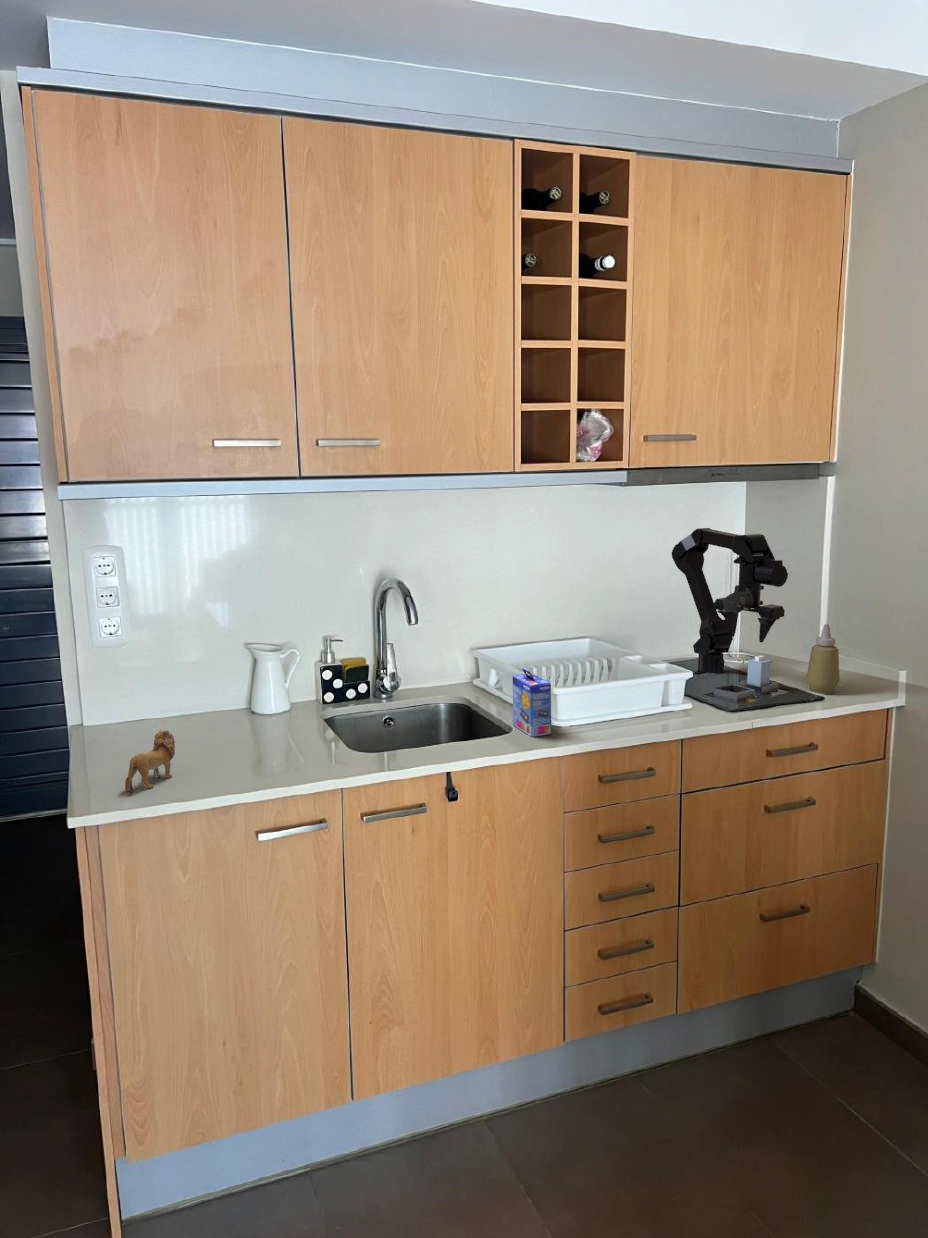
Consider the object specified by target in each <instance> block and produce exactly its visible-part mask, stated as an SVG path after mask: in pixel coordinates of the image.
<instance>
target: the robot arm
mask: <svg viewBox="0 0 928 1238" xmlns="http://www.w3.org/2000/svg"><path fill="white" fill-rule="evenodd" d="M710 545H711V546H715V547H720V548H725V549H729V550H730V551H732V552H733V554H735V555H738V557H736V558H735V559H734V560H733V563H734V564H738V565H739V567H738V569H739V572H738V584H736V585H735V587H734V591H733V592H731V593H730V594H729V595H726V596H725V597H720V598H716V599H715V600H714V599H713V597H712V593H711V591H710V588H709V587H710V586H709V585H708V582H707V580H706V576H705V572H704V571H703V568H704V563H705V556H704V554H705V553H706V552H707V551H708V549H709V546H710ZM671 558H672V561H673V562H674V565H675V566H676V567H677V569H678V570H679V571H680V572H682V574H683V575H684V576H685V579H686V580H687V584H688V586H689V590H690V593H691V596H692V598H693V601H694V604H695V608H696V610H697V613H698V616H699V619H700V626H699V630H698V633H699V638H698V640H697V641H695V642H694V644H693V645H692V648H693V652H694V653H695V654H698V664H697V670H694V672H693V673H694V674H697V675H703V674H716V675H719V674H724V672H725V659H724V653H726V654H727V653H728V652H729V650H730V647H731V645H732V642H733V641H734V637H735V634H736V631H737V625H738V619H739V613H741V612H742V611H744V612H745V611H746V612H751V613H757V614H758V615H759V617H758V618H757V620H758V622H759V633H758V634H759V635H758V636H759V638H758V639H759V643H763V642H764V641H765V640H766V638H767V635H768V634H769V632H770V630H771V629H772V627H773V626H774V624H775V622H776V621H778V620H781V618H783V617H785V608H784V607H783V606H782V605H779V604H778V605H777V604H772V603H771V604H765V605H764V600H761V593H762V592H761V591H763V590H764V589H765V586H772V587H775V588H781V587H782V586H784V585H785V584H786V582H787V579H788V577H789V572H788V569H787V567H786V566H785V565H783V560H782V559H776V558H775V556H774V554H773V551H772V550H771V547H770V546H769V543H768V541H767V539H766V536H765V535H764V534H761V533H755V534H736V533H731V532H728V531H722V530H716V529H712V528H709V527H703V528H701V527H699V528H696V529H694V530H693V531H692V532H691V533H690V534H689V535H687V536H686V537H684V538H683V539H681V540H680V541H679V542H678V543H676V544H675V545H674V546H673V549H672V551H671ZM764 585H765V586H764ZM719 614H720V615H721V616H723V618H724V619H722V617H720V616H719Z"/></svg>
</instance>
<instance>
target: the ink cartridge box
mask: <svg viewBox="0 0 928 1238" xmlns="http://www.w3.org/2000/svg"><path fill="white" fill-rule="evenodd" d="M521 670H522V671H523V673H521V674H513V675H512V725H513V726H514V727H515V728H517V730H520V731H522V732H523V733H524V734H526V735H527V736H529V737H531V738H532V737H533V738H534V737H540V736H541V737H542V736H547V735H549V736H550V735H552V684H551V682H550V681H549V680H546V679H544V678H541V677H539V676H538V675H537V674H534V673H531V671H530V670H527V669H525V668H523V667H522V669H521Z"/></svg>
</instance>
